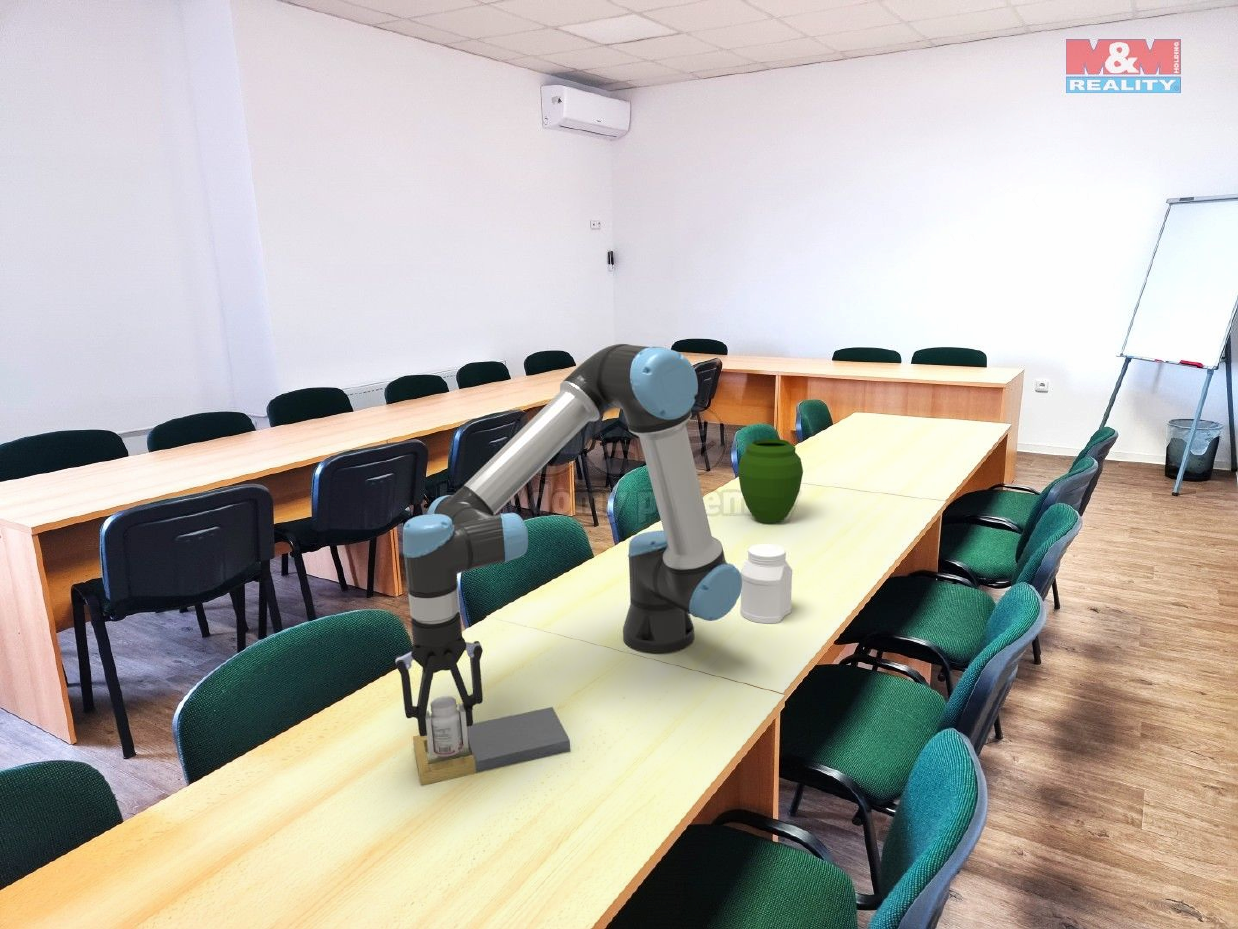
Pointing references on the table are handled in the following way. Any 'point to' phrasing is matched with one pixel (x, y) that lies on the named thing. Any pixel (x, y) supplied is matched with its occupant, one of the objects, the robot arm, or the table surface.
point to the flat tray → (498, 745)
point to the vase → (770, 479)
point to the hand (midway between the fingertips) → (448, 747)
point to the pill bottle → (446, 726)
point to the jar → (766, 584)
